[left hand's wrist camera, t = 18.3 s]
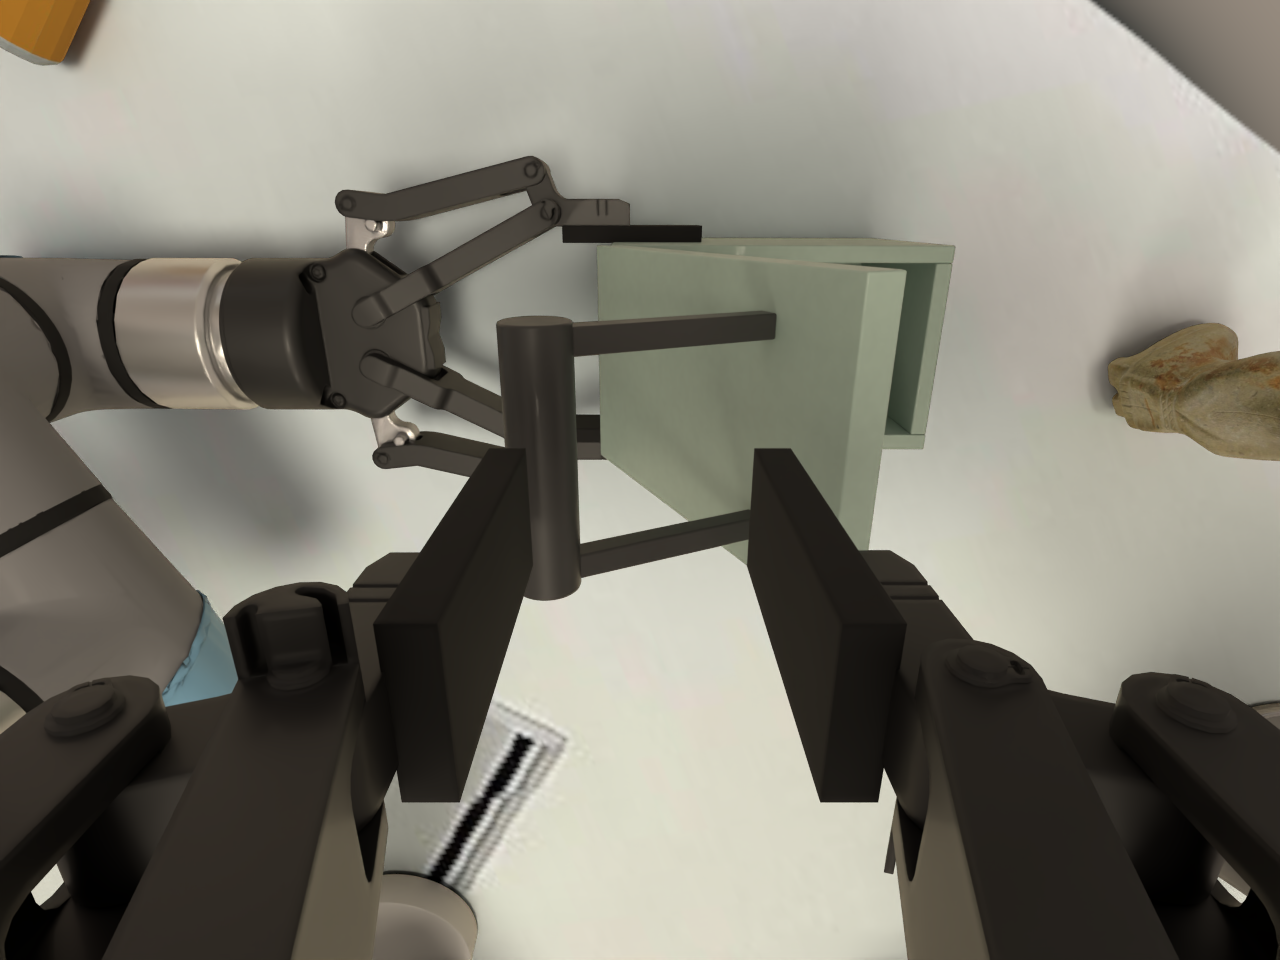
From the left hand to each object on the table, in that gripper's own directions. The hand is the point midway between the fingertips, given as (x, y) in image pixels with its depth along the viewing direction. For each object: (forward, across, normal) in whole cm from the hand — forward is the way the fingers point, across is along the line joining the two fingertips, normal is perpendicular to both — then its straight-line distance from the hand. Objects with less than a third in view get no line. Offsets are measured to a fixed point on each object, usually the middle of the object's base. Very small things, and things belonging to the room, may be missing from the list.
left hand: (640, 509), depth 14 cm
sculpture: (+29, -32, +3) cm, 43 cm away
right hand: (+22, -3, 0) cm, 22 cm away
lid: (+10, -3, 0) cm, 10 cm away
